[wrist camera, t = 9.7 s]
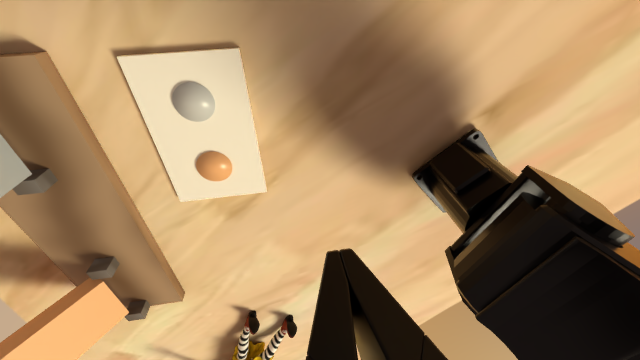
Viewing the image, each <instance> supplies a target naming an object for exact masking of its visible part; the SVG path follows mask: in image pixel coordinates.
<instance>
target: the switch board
mask: <svg viewBox="0 0 640 360" xmlns="http://www.w3.org/2000/svg"><path fill="white" fill-rule="evenodd" d="M0 134H1V135H2V137H3V138H4V139H5V140H6V142H7V143H8V144H9V146H10V147H11V148H12V149H13V151H14V152H15V153H16V154H17V156H18V157H19V158H20V159H21V161H22V162H23V163H24V164H25V166H26V167H27V168H28V169H29V171H30V172H31V173H32V174H31V175H30V176H29V177H27V178H26V179H25V180H23V181H22V182H21V183H19V184H18V185H17V186H16V187H14V188H13V189H12V190H10V191H9V192H8V193H6V194H5V195H4V196H2V197H1V198H0V207H1V208H2V209H3V210H4V211H5V212H6V213H7V214H8V215H9V216H10V218H11V219H12V220H13V221H14V222H15V223H16V224H17V225H18V226H19V227H20V228H21V229H22V230H23V231H24V232H25V233H26V234H27V235H28V236H29V237H30V238H31V239H32V241H33V242H34V243H35V244H36V245H37V246H38V247H39V248H40V249H41V250H42V251H43V252H44V253H45V254H46V255H47V256H48V257H49V258H50V259H51V260H52V261H53V262H54V263H55V265H56V266H57V267H58V268H59V269H60V270H61V271H62V272H63V273H64V274H65V275H66V276H67V277H68V278H69V279H70V280H71V281H72V282H73V283H74V284H75V285H76V286H79V285H80V284H82V283H83V282H84V281H86V280H87V279H88V278H91V279H92V280H96V279H101V280H102V281H103V282H104V283H105V284H106V285H107V286H108V288H109V289H110V290H111V291H112V292H113V294H114V295H115V296H116V297H117V298H118V299H119V301H120V302H121V303H122V304H123V305H124V307H125V308H126V309H127V310H128V311H129V313H128V314H127V315H126V316H125V318H126V319H127V320H128V321H132V320H139V319H145V318H146V315H147V313H148V310H149V307H150V306H153V305H160V304H166V303H173V302H180V301H183V298H184V294H185V292H184V290H183V288H182V286H181V285H180V283H179V281H178V279H177V278H176V276H175V274H174V273H173V271H172V269H171V267H170V266H169V264H168V262H167V260H166V259H165V257H164V255H163V253H162V252H161V250H160V248H159V246H158V245H157V243H156V241H155V239H154V238H153V236H152V234H151V232H150V231H149V229H148V227H147V225H146V224H145V222H144V220H143V218H142V217H141V215H140V213H139V212H138V210H137V208H136V206H135V205H134V203H133V201H132V199H131V198H130V196H129V194H128V192H127V191H126V189H125V187H124V185H123V184H122V182H121V180H120V178H119V177H118V175H117V173H116V171H115V170H114V168H113V166H112V164H111V163H110V161H109V159H108V158H107V156H106V154H105V152H104V151H103V149H102V147H101V145H100V144H99V142H98V140H97V138H96V137H95V135H94V133H93V131H92V130H91V128H90V126H89V124H88V123H87V121H86V119H85V117H84V116H83V114H82V112H81V110H80V109H79V107H78V105H77V103H76V102H75V100H74V98H73V97H72V95H71V93H70V91H69V90H68V88H67V86H66V84H65V83H64V81H63V79H62V77H61V76H60V74H59V72H58V70H57V69H56V67H55V65H54V63H53V62H52V60H51V58H50V56H49V55H48V53H47V52H32V53H17V54H1V55H0Z"/></svg>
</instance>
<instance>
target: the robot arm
mask: <svg viewBox="0 0 640 360" xmlns="http://www.w3.org/2000/svg"><path fill="white" fill-rule="evenodd" d="M475 134H476V135H475ZM474 135H475V137H473V136H474ZM521 172H522V173H521V174H520V175H519V176H516V175H515V174H514V173H512V172H511V171H510V170H508V169H507V168H506V167H504V166H503V165H502V164H501V163H499V162H498V160H497V159H496V157H495V155H494V153H493V152H492V150H491V148H490V146H489V145H488V143H487V141H486V139H485V138H484V136H483V134H482V133H481V132H480V131H479V130H477V129H473V130H471V131H470V132H469V133H467V134H466V135H465V136H463V137H462V138H460V139H459V140H458V141H456V142H455V143H454V144H452V145H451V146H450V147H448V148H447V149H446V150H444V151H443V152H442V153H440V154H439V155H437V156H436V157H435V158H433V159H432V160H431V161H429V162H428V163H427V164H425V165H424V166H423V167H421V168H420V169H418V170H417V171H416V172H415V173H414V174H413V176H412V177H413V179H414V181H415V182H416V183H417V184H418V185H419V186H420V187H421V188H422V190H423V191H424V192H425V193H426V194H427V195H428V196H429V197H430V199H431V200H432V201H433V202H434V203H435V204H436V205H437V206H438V207H439V209H440V210H441V211H442V212H447V213H448V215H449V216H450V217H451V218H452V220H453V221H454V222H455V224H456V225H457V226H458V227H459V229H460V230H461V231H462V233H463V234H462V235H461V236H460V237H459V239H458V240H457V241H456V242H455V243H454V244H453V245H452V246H449V247H448V248H447V249H446V250H445V253H446V256H447V259H448V262H449V265H450V268H451V271H452V274H453V277H454V280H455V283H456V286H457V289H458V292H459V294H460V296H461V298H462V301H463V302H464V303H465V304H466V305H467V306H468V308H469V309H470V310H471V311H472V312H473V313H474V314H475V317H476V319H477V320H478V321H479V322H480V323H482V324H483V325H484V326H486V327H487V328H488V329H489V330H491V331H492V332H493V333H494V334H495V335H496V336H497V337H498V338H499V339H500V340H501V341H502V342H503V343H504V344H505V345H506V346H507V347H508V348H509V349H510V350H511V352H512V353H513V354H514V355H515V356H516V358H517V359H518V360H640V250H638V249H637V248H635V247H634V246H632V245H631V244H629V243H628V241H629V240H631V239H632V238H634V237H635V235H634V234H633V233H632V232H631V231H630V230H629V229H628V228H627V227H625V225H624V224H623V223H622V222H620V221H619V220H618V219H617V218H616V217H615V216H614V215H613V214H612V213H611V212H610V211H609V210H608V209H607V208H606V207H605V206H603V205H602V204H601V203H600V202H598V201H597V200H595V199H593V198H592V197H590V196H588V195H587V194H585V193H583V192H582V191H580V190H579V189H577V188H575V187H574V186H572V185H570V184H569V183H567V182H564V181H562V180H560V179H558V178H555V177H553V176H551V175H549V174H546V173H544V172H542V171H540V170H537V169H535V168H533V167H531V166H528V165H527V166H526V167H525V168H524V169H523V170H522V171H521ZM418 176H419V177H418ZM417 177H418V178H417ZM356 344H357V348H358V351H359V354H360V357H361V360H448V359H447V358H446V357H445V356H444V355H443V353H442V352H441V351H440V350H439V349H438V348H437V347H436V346H435V345H434V343H433V342H432V341H431V340H430V339H429V338H428V337H427V335H425V336H424V332H423V331H422V330H421V329H420V327H419V326H418V325H417V324H416V323H415V322H414V320H413V319H412V318H411V317H410V316H409V315H408V313H407V312H406V311H405V310H404V309H403V308H402V307H401V305H400V304H399V303H398V302H397V301H396V300H395V298H394V297H393V296H392V295H391V294H390V293H389V292H388V290H387V289H386V288H385V287H384V286H383V285H382V283H381V282H380V281H379V280H378V279H377V278H376V277H375V275H374V274H373V273H372V272H371V271H370V270H369V268H368V267H367V266H366V265H365V264H364V263H363V262H362V260H361V259H360V258H359V257H358V256H357V255H356V253H355V252H354V251H353V250H352V249H350V248H348V249H341V250H340V251H338V250H334V251H328V252H327V254H326V258H325V263H324V269H323V274H322V279H321V284H320V289H319V294H318V299H317V304H316V310H315V315H314V320H313V325H312V330H311V335H310V340H309V345H308V351H307V356H306V360H358V356H357V348H356Z"/></svg>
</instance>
